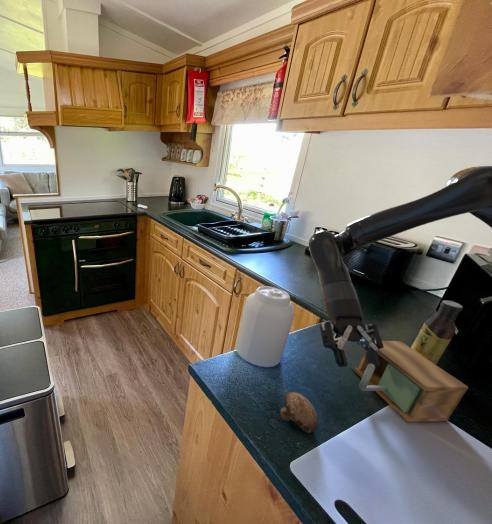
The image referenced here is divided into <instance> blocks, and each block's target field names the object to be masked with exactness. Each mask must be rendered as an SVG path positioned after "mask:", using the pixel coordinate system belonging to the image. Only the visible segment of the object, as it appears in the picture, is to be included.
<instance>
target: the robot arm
mask: <svg viewBox="0 0 492 524" xmlns="http://www.w3.org/2000/svg"><path fill="white" fill-rule="evenodd" d="M465 214H470V215H472V216H474V217H475V218H477V219H479V220H480V222H481V221H482V222H483V223H484V224H486V225H487V226H488V227H490V228H491V229H492V165H481V166H480V165H479V166H478V165H477V166H471V167H468V168H467V167H466V168H464V169H461V170H459V171H457V172H455V173H454V174H453V175H451V176H450V177H449V179H448V180H447V181H446V183H445V187H443V188H441V189H439V190H437V191H434V192H432V193H430V194H428V195H426V196H423V197H420V198H418V199H415V200H411V201H408V202H406V203H403V204H399V205H396V206H393V207H389V208H386V209H383V210H380V211H377V212H375V213H372V214H368V215H366V216H365V217H361V218H359V219H357V220H355V221H352V222H350V223H348V224H347V225H346V227H345V230H344V231H342V232H340V233H339V234H336V235H335V234H334V233H333V232H330V231H328V230H320V231H317V232H315V233H313V234H312V235H311V236H310V238H309V240H308V249H309V253H310V256H311V259H312V260H313V263H314V265H315V268H316V270H317V274H318V279H319V284H320V287H321V293H322V294H321V295H322V299H323V303H324V307H325V311H326V315H327V319H328V320H329V321H326V322H323V323H319V329H320V330H319V331H320V335H321V340H322V345H323V347H324V348H325V349H326V348H328V349H330V350H332V352H333V357H334V360H335V363H336V365H337V366H338V368H339V367H340V368H345V367H348V361H347V358H346V354H345V350H344V349H343V348H344V346H345V344H346V343H347V342H351V343H352V342H353V343H356V344H357V345H359V346H361V348H363V350H365V351H367V352H366V356H367V359H368V362H369V364H373V365H374V366H375V368H379V367H380V361H379V357H378V354H377V350H378V349H381V348H383V347H384V346H383V343H382V341H383V340H382V338H381V335H380V332H379V329H378V326H377V325H376V324H375V323H372V324H371V323H370V324H365V323H364V322H363V318H364V314H363V310H362V307H361V304H360V300H359V297H358V293H357V290H356V288H355V287H354V285H353V282H352V278H351V276H350V272H349V269H348V267H347V266H346V264H345V262H344V260H343V258H344V257H346V256H348V255H350V254H351V253H353V252H355V251H356V250H359V249H360V248H362V247H365V246H368V245H371V244H373V243H377V242H379V241H381V240H384V239H388V238H391V237H393V236H395V235H399V234H401V233H404V232H407V231H410V230H413V229H415V228H418V227H422V226H425V225H427V224H431V223H434V222H437V221H440V220H444V219H445V220H446V219H448V218H452V217H456V216H460V215H465ZM375 341H376V343H377V344H376V343H375ZM367 344H368V345H369V346H368V345H367Z"/></svg>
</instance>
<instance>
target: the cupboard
mask: <svg viewBox="0 0 492 524" xmlns="http://www.w3.org/2000/svg"><path fill="white" fill-rule="evenodd" d="M374 341H375V343H376V340H374ZM382 343H383V346H384V347H383V348H381V349H378V350H377V354H378V357H379V361H380V367H379V368H375V369H374V372H373V374H372V376H371V378H370V380H369V382H368V385H378V384H379V382H380V380H381V378H382V376H383V374H384V372H385V370H386V367H387V365H388V363H390V364H392V365H393V366H394V367H395V368H397V369H398V370H399V371H400V372H402V373H403V374H404V375H405V376H407V377H408V378H409V379H410V380H412V381H413V382H414V383H415V384H417V385H418V386H419V387H421V388H420V390H419V392H418V394H417V396H416V398H415V399H414V401H413V403H412V405H411V407H410V409H409V410H408V412H407V413H405V412H404V411H403V410H402V409H401V408H399V407H398V406H397V405H396V404H395V403H394V402H393V401H392V400H391V399H390V398H389V397H388V396H387V395H385V394H384V393H383V392H382V391H375V393H376V394H377V395H379V396H380V398H382V399H383V400H384V401H385V402H386V403H387V404H388V405H389V406H390V407H391V408H392V409H393V410H394V411H396V413H398V414H399V415H400V416H401V417H402V418H403V419H404V420H405V421H406V422H408V423H409V422H411V423H412V422H415V423H416V422H448V421H449V420H450V418H451V416H452V415H453V413H454V411H455V410H456V408H457V407H458V405H459V403H460V402H461V400H462V398H463V397H464V395H465V394H466V392H467V391H468V389H469V387H468V385H466V384H465V383H464V382H461V381H460V380H459V379H457V378H456V377H455V376H454V375H451V374H450V373H449V372H447V371H445V370H444V369H443V368H441V367H440V366H438V365H437V364H434V363H432V362H431V361H429V360H428V359H426V358H425V357H423V356H422V355H421V354H419V353H418V352H416V351H415V350H413V349H412V348H411V347H410V346H409V345H407V344H406V343H404V342H403V341H401V340H382ZM376 344H377V343H376ZM367 345H368V344H367ZM368 346H369V345H368ZM366 352H367V351H366V350H365V351H364V354H363V356H362V358H361V361H360V363H359V365H358V367H354V369H353V372H354V373H355V374H356V375H358V376H359V378H361V379H362V377H363V375H364V372H365V370H366V368H367V366H368V364H369V362H368V359H367V356H366Z"/></svg>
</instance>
